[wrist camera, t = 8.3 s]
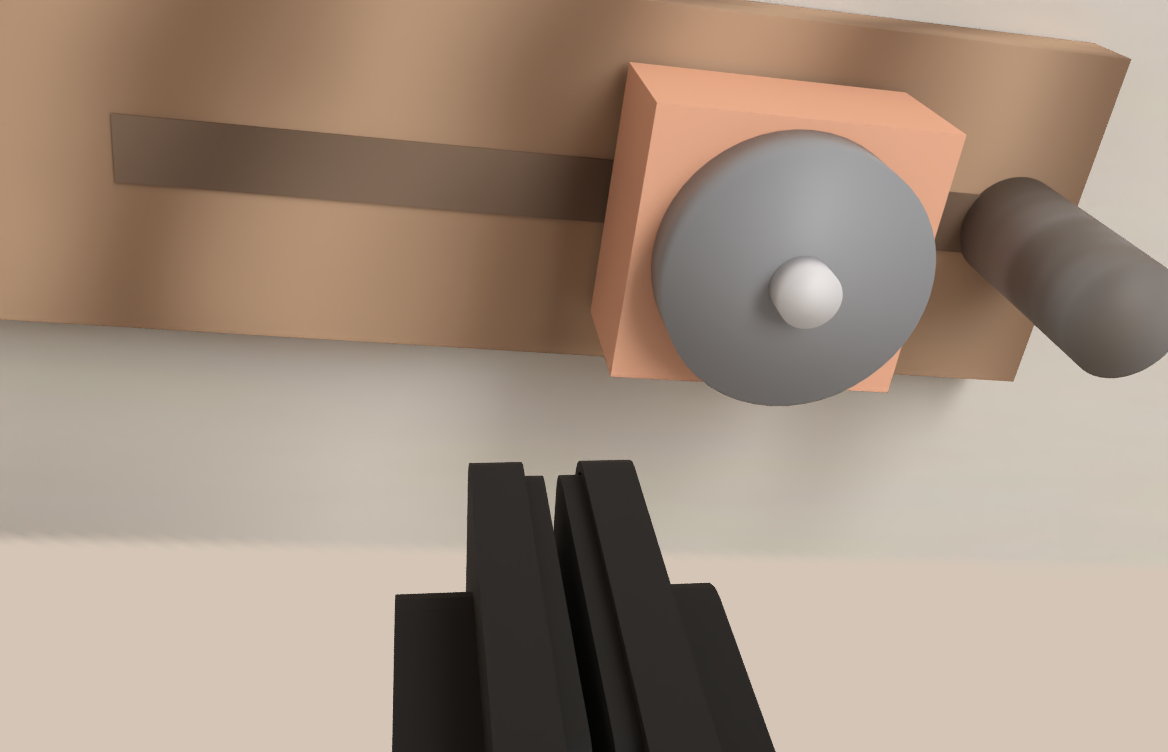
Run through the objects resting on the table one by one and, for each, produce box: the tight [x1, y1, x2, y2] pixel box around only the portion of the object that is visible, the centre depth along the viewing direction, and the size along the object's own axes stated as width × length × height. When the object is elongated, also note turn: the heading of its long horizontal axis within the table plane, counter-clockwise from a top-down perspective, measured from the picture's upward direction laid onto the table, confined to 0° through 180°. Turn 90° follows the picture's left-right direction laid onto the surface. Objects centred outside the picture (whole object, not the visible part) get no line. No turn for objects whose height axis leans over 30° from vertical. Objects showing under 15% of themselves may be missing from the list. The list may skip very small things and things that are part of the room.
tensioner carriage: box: [590, 62, 966, 406], centre depth 22 cm, size 6×6×5 cm
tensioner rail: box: [0, 0, 1168, 381], centre depth 22 cm, size 24×8×6 cm, turn 82°
